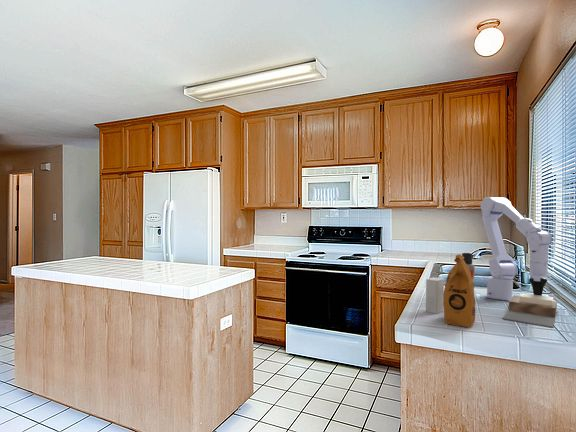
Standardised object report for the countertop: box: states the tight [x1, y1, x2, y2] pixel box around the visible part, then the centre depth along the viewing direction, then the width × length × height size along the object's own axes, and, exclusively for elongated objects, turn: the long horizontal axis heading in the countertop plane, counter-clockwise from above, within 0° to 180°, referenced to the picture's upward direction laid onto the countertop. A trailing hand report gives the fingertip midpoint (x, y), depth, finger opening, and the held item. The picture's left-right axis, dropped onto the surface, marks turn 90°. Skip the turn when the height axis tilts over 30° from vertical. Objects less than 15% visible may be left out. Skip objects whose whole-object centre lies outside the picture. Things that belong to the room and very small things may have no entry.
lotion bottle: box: [461, 252, 476, 288], centre depth 151 cm, size 6×6×20 cm
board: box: [508, 295, 558, 318], centre depth 137 cm, size 14×13×4 cm
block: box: [518, 292, 554, 306], centre depth 136 cm, size 10×7×2 cm
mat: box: [502, 309, 556, 329], centre depth 126 cm, size 14×14×1 cm
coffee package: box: [443, 254, 476, 328], centre depth 121 cm, size 10×12×22 cm
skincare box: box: [425, 277, 445, 315], centre depth 133 cm, size 6×4×12 cm
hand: (537, 297), depth 141 cm, fingers closed
